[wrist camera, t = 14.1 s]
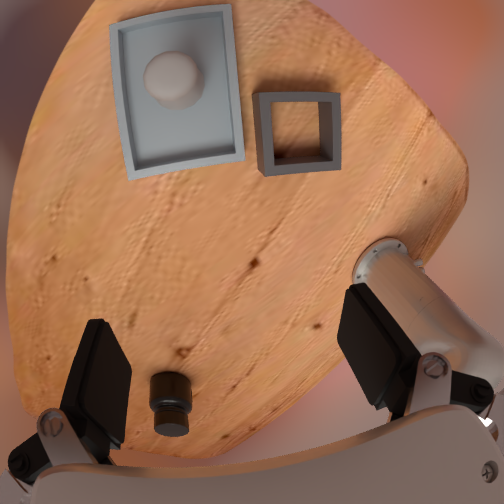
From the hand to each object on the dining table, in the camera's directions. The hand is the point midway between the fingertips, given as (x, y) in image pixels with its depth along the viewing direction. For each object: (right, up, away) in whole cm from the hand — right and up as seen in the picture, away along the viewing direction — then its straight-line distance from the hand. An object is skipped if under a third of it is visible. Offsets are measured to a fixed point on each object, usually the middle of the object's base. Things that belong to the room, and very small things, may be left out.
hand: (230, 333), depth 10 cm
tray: (-8, +23, +18) cm, 30 cm away
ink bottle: (-17, -25, +43) cm, 53 cm away
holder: (+6, +19, +23) cm, 30 cm away
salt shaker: (-8, +22, +17) cm, 29 cm away
